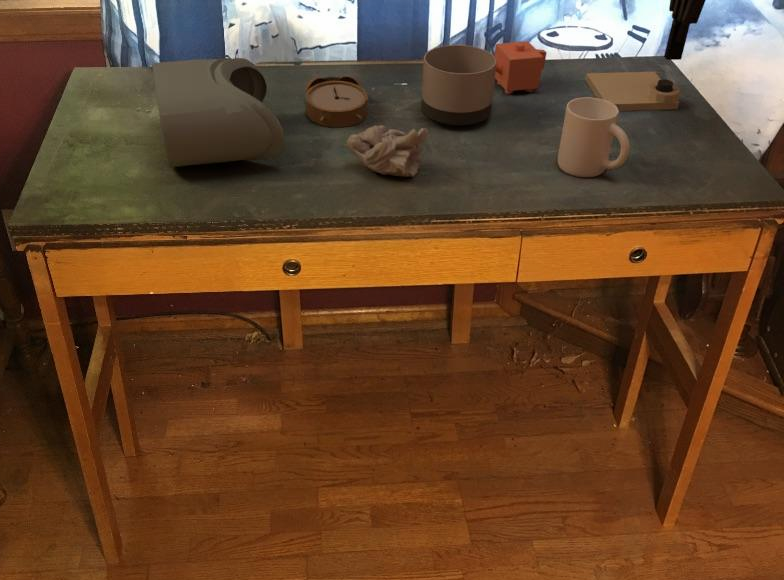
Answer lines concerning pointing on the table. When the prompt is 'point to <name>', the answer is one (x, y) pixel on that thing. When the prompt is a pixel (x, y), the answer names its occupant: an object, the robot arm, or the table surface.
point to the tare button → (664, 85)
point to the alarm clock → (336, 101)
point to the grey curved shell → (215, 112)
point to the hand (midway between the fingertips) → (672, 57)
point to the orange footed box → (518, 66)
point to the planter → (458, 84)
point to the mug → (590, 137)
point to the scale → (632, 90)
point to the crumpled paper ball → (388, 150)
